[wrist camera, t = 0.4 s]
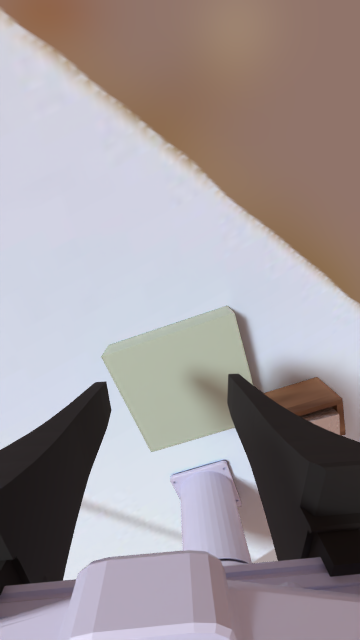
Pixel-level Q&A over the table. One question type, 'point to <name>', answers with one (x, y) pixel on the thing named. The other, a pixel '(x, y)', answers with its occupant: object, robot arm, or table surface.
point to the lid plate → (325, 419)
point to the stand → (179, 377)
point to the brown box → (309, 398)
